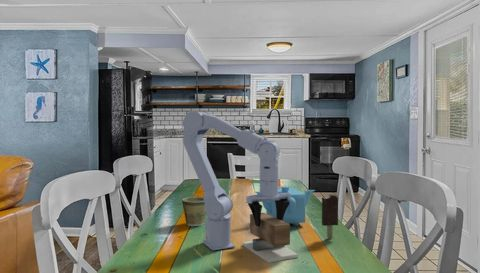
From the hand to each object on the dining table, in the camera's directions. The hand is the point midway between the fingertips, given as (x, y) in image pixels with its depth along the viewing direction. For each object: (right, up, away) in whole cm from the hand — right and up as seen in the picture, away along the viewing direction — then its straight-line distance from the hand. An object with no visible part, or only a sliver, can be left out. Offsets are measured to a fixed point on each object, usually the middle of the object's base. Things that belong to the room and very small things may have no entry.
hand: (268, 224), depth 114 cm
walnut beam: (0, -4, 0) cm, 4 cm away
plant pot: (-26, -8, +32) cm, 42 cm away
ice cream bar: (+22, -8, +13) cm, 27 cm away
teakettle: (+9, -8, +34) cm, 36 cm away
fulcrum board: (0, -8, 0) cm, 8 cm away
